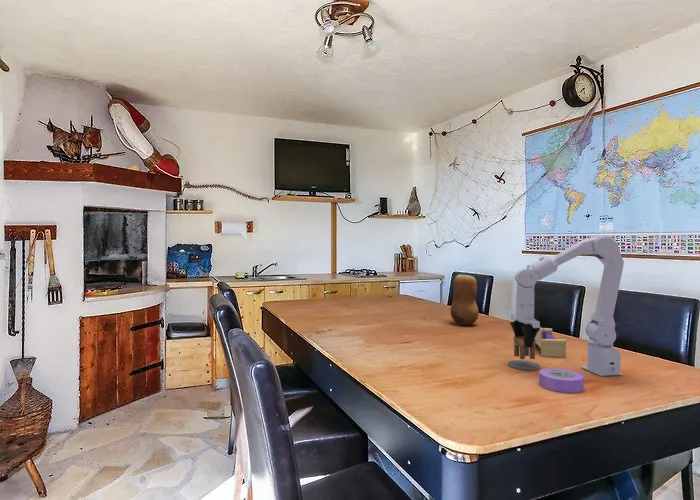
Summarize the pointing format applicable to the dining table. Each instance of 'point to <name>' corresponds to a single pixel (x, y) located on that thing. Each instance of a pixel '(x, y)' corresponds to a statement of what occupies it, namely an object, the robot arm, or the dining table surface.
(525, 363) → the mat
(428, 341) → the dining table surface
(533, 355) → the wooden toy stool
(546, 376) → the masking tape
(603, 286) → the robot arm
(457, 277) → the butternut squash
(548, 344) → the toy sofa
